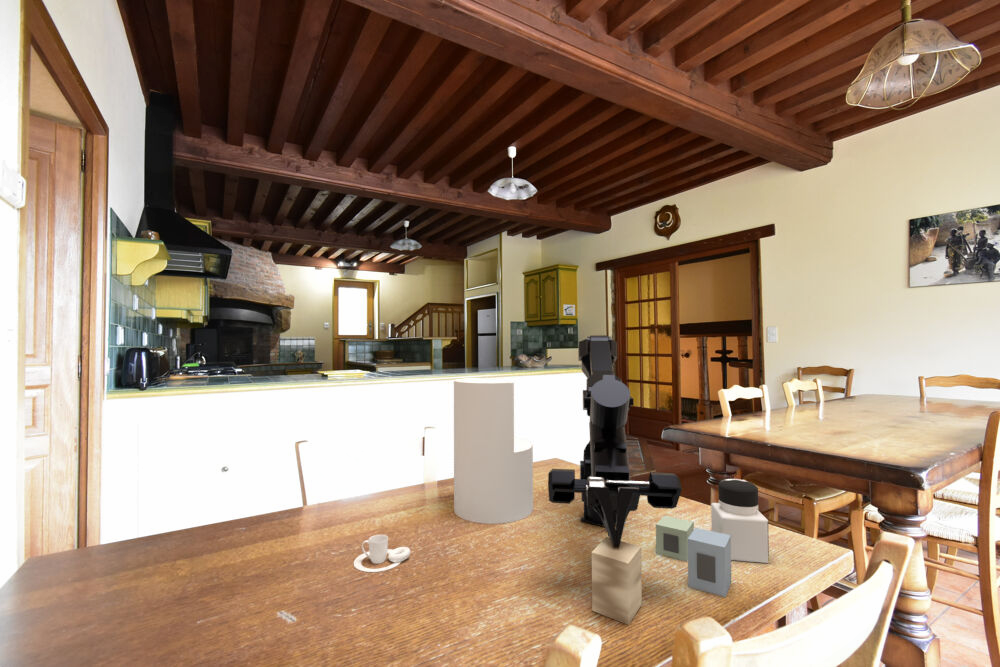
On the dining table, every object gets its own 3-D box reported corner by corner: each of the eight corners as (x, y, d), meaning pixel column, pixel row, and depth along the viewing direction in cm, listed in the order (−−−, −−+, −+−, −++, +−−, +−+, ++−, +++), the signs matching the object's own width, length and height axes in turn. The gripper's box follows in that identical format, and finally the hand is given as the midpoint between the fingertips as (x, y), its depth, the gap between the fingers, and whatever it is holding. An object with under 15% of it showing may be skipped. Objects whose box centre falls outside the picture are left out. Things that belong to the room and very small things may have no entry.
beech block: (592, 610, 61) (591, 552, 60) (606, 591, 65) (606, 536, 64) (628, 625, 58) (628, 563, 58) (641, 604, 62) (641, 546, 62)
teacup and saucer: (416, 556, 78) (416, 532, 78) (390, 579, 70) (390, 552, 70) (372, 549, 80) (372, 526, 81) (343, 570, 73) (343, 544, 73)
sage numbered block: (655, 554, 77) (655, 524, 77) (664, 543, 82) (664, 515, 82) (686, 562, 74) (686, 531, 75) (694, 550, 79) (693, 521, 79)
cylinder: (476, 530, 87) (475, 384, 88) (441, 503, 102) (441, 379, 103) (549, 513, 96) (548, 380, 97) (507, 490, 111) (506, 376, 112)
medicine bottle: (769, 564, 74) (768, 489, 74) (722, 560, 75) (721, 487, 75) (754, 545, 81) (753, 477, 81) (711, 541, 82) (710, 474, 82)
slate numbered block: (687, 587, 67) (687, 539, 67) (695, 572, 71) (695, 527, 71) (725, 598, 64) (724, 548, 64) (731, 582, 68) (730, 535, 68)
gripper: (662, 476, 77) (679, 574, 65) (551, 472, 79) (548, 565, 68) (672, 437, 69) (693, 540, 58) (549, 434, 72) (546, 532, 61)
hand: (616, 546), depth 61 cm, fingers closed, pressing on beech block
